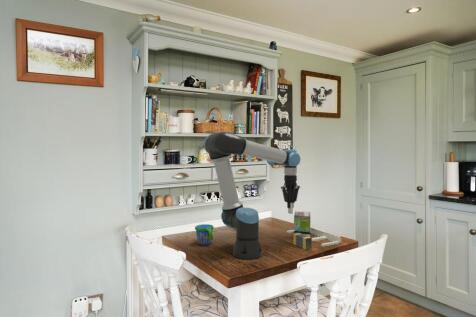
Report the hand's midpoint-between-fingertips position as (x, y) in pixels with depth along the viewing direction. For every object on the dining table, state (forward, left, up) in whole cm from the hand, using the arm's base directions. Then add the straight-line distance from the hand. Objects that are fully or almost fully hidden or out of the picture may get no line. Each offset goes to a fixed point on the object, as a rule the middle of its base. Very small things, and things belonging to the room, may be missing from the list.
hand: (290, 213), depth 192 cm
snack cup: (-50, +15, -16) cm, 55 cm away
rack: (+13, -4, -16) cm, 21 cm away
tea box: (+10, +1, -16) cm, 19 cm away
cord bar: (-3, -16, -16) cm, 22 cm away
